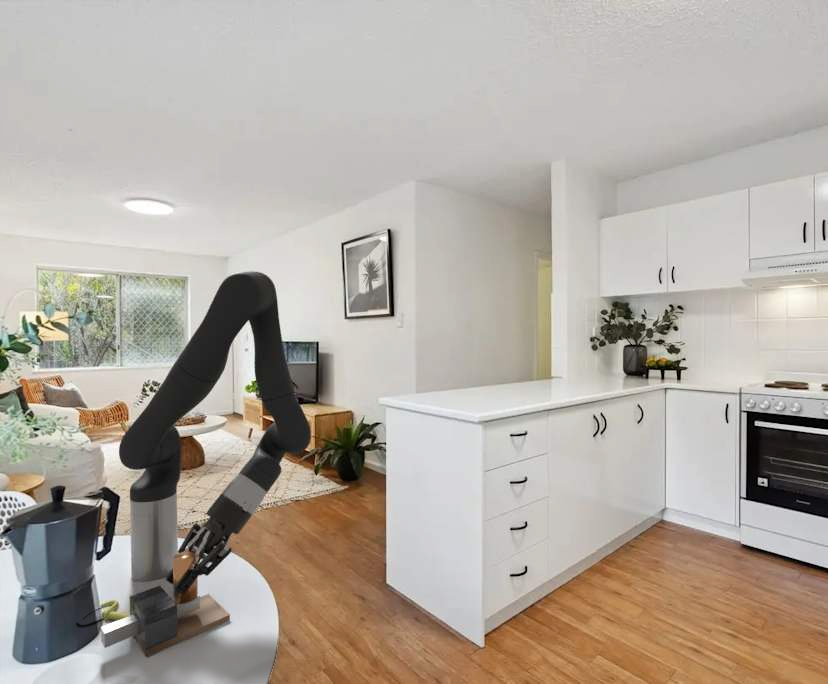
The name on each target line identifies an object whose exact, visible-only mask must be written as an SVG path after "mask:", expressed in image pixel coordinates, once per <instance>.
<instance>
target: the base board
mask: <svg viewBox="0 0 828 684" xmlns="http://www.w3.org/2000/svg"><path fill="white" fill-rule="evenodd" d="M230 620H231V614H230V613H229V612H228V611H227V610H226V609H225V608H224V607H223V606H222V605H221V604H219V603H218V602H217V601H216V599H214V597H212V595H210V594H209V593H207V594H204V595H202V596H200V609H198V610H195V611H193V612H190V613H188V614H186V615H183V616H181V617H178V618H177V637H175V638H172V639H170V640H168V641H166V642H163V643H161V644H159V645H157V646H154V647H152V648H150V649H147V650H145V649H144V647H143V646H142V644H141V643H140V641H139V640H138V638H137V636H136V635H135V636H133V639H134V641H135V642H136V643H137V645H138V647H139V648H140V649H141V651H142V653H143V655H144V656H145V658H146V659H147V658H149V657H151V656H154V655H156V654H158V653H160V652H162V651H164V650H167V649H169V648H171V647H173V646H175V645H178V644H180V643H182V642H184V641H186V640H189V639H191V638H193V637H195V636H198V635H199V634H202V633H204V632H206V631H208V630H210V629H213V628H215V627H217V626H220V625H222V624H224V623H227V622H229V621H230Z"/></svg>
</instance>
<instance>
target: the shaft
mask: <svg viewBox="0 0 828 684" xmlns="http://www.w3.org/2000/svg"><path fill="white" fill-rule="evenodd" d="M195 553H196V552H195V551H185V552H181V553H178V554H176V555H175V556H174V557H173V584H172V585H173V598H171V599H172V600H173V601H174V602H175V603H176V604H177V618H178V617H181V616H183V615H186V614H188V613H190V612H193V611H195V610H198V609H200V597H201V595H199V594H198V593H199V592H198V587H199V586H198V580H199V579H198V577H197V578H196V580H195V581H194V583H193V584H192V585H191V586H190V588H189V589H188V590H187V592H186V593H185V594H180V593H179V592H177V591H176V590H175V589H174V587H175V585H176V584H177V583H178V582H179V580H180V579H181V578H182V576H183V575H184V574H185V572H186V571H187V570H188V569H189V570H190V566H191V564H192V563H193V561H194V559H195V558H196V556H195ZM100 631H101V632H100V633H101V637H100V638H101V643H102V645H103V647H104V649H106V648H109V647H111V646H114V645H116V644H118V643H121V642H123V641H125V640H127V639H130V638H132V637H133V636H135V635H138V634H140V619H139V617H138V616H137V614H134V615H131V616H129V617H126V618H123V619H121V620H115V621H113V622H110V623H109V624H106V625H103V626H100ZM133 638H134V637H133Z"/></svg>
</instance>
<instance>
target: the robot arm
mask: <svg viewBox="0 0 828 684" xmlns="http://www.w3.org/2000/svg"><path fill="white" fill-rule="evenodd" d="M278 304H279V303H278V296H277V289H276V286H275V284H274V282H273V280H272V279H271V278H270V277H269V276H268V275H267V274H265V273H263V272H261V271H260V272H259V271H238V272H233V273H231V274H229V275H228V276H226V278H224V280H222V282H221V284H220V285H219V287H218V289H217V291H216V292H215V295H214V297H213V300H212V302H211V303H210V305H209V308H208V309H207V312H206V314H205V316H204V318H203V320H202V321H201V323H200V324H199V326H198V327H197V329H196V330H195V332H194V333H193V335H192V336H191V337H190V339H189V341H188V343H186V346H185V347H184V348H183V350H182V351H181V353H180V354H179V356H178V357H177V358H176V360H175V362H174V363H173V365H172V367H171V368H170V369H169V371H168V373H167V375H166V377H165V379H164V380H163V382H162V383H161V384H160V386H159V388H158V389H157V391H156V392H155V394H154V395H153V396H152V398H151V399H150V401H149V403H148V404H147V406H145V408H144V410H143V411H142V412H141V413H140V414H139V416H138V417H137V418H136V419H135V421H134V422H133V423H132V424H131V425H130V426H129V428H128V429H127V430H126V432H125V433H124V435H123V436H122V438H121V440H120V444H119V448H118V456H119V460H120V463H121V464H122V465H123V466H124V467H125V468H127V469H130V470H134V471H136V470H137V471H140V470H144V472H143V473H142V475H141V476H140V477H139V478H137V480H135V481H134V482H133V483H132V485H131V486H130V488H129V513H130V514H129V516H130V519H129V520H130V521H129V522H130V523H129V524H130V563H131V564H130V569H131V572H130V573H131V578H132V580H135V581H138V582H139V581H142V582H146V581H147V582H148V581H154V580H158V579H161V578H164V577H165V580H166V582H168V583H169V584H171V585H173V557H174V556H175V555H176V554H178V553H181V552H185V551H195V552H196V553H195V556H196V558H195V559H194V561H193V563H192V564H191V566H190V570H189V569H188V570H187V571H186V572H185V574H184V575H183V576H182V578H181V579H180V580H179V582H178V583H177V584H176V585H175V587H174V589H175V590H176V591H177V592H179V593H180V594H185V593H186V592H187V590H188V589H189V588H190V586H191V585H192V584H193V583H194V581H195V580H196V578H197V579H198V577H199V576H202V575H205V576H209V575H210V574H211V573H212V572H213V571H214V570H215V569H216V568H217V567H218V566H219V565H220V564H221V563H222V562H223V561H224V560H225V559H226V558H227V557H228V556H229V555H230V554H231V552H232V550H233V549H232V548H231V547H230V546H229V545H228V541H230V540H229V539H230V537H231V536H232V534H235V535H238V534H240V532H242V529H244V528H245V526H246V525H247V523H248V522H249V520H250V519H251V518H252V517H253V515H254V514H255V512H256V511H257V509H258V508H259V507H260V505H261V504H262V503H263V501H264V498H265V497H266V495H267V494H268V492H269V491H270V489H271V488H272V487H273V485H274V484H275V483H276V481H277V480H278V478H279V476H280V475H281V473H282V466H281V465H280V463H281V462H282V460H283V458H284V456H285V455H286V453H287V454H294V455H297V454H300V453H302V452H304V451H306V449H307V448H308V447H309V445H310V442H311V437H312V431H311V427H310V423H309V421H308V418H307V417H306V414H305V412H304V410H303V408H302V406H301V405H300V403H299V401H298V400H297V397H296V392H295V390H294V389H295V388H294V385H293V381H292V378H291V374H290V371H289V370H290V369H289V367H288V363H287V362H288V361H287V358H286V354H285V348H284V343H283V337H282V331H281V329H282V328H281V324H280V315H279V305H278ZM247 322H249V325H250V327H251V333H252V336H253V343H254V345H253V346H254V363H253V364H254V375H255V377H254V378H255V381H256V386H257V389H258V393H259V397H260V399H261V403H262V406H263V408H264V410H265V411H266V412H267V413H268V414H270V415H271V417H272V418H273V423H272V424H270V425H269V427H268V428H267V429H266V431H265V432H264V433H263V434H262V437H261V438H260V440H259V443H258V444H257V445H256V447H255V451H254V453H253V455H252V456H251V458H249V460H248V461H247V462H246V463H245V465H243V467H242V468H241V469H240V471H239V473H237V475H236V476H235V477H234V478H233V479H232V480H231V481H230V482H229V483H228V484H227V485H226V487H225V488H224V490H223V491H222V492H221V493H220V495H218V497H217V499H216V500H215V501H214V502H213V503H212V504H211V506H210V507H209V509H207V511H206V515H207V516H208V517H209V518H208V520H207V521H206V522H204V523H203V524H202V525H200V524H198V523H196V522H195V523H194V524H193V525H192V527H191V528H190V530H189V532H188V533H187V535H186V537H185V539H184V540H183V542H182V544H181V545H180V547H179V545H178V544H179V541H178V539H179V538H178V537H179V536H178V497H177V496H178V495H177V491H178V490H177V489H178V486H177V485H178V483H179V482H180V478H181V463H182V440H181V436H180V432H179V430H178V429H177V427H176V426H175V424H176V423H177V422H178V421H179V420H180V419H182V418H184V416H185V415H187V414H188V413H190V412H191V411H192V410H193V409H194V408H195V407H197V406H198V405H200V404H201V402H203V401H204V400H205V399H206V398H207V397H208V396H209V395H210V393H211V392H212V391H213V389H214V387H215V386H216V384H217V383H218V381H219V380H220V378H221V376H222V375H223V373H224V370H225V368H226V365H227V361H228V358H229V353H230V349H231V347H232V344H233V342H234V340H235V338H236V337H237V335H238V334H239V333H240V331H241V330H243V328H244V327H245V325H246V324H247Z"/></svg>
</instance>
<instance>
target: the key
mask: <svg viewBox="0 0 828 684" xmlns="http://www.w3.org/2000/svg"><path fill="white" fill-rule="evenodd" d="M100 604H101V608H100V609H103V608H105V607H108V606H109V607H108V608H106V609H104V610H103V611H101V612H102V617H103V619H104V620H105V621H107V620H115V621H118V620H121V619H123V618H126V617H129V616H130V613H124V612H121V611H117V610H118V608H119V607H120V606H119V605H120V603H119V600H118V599H112V600H108V601H105V602H102V603H100Z"/></svg>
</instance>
